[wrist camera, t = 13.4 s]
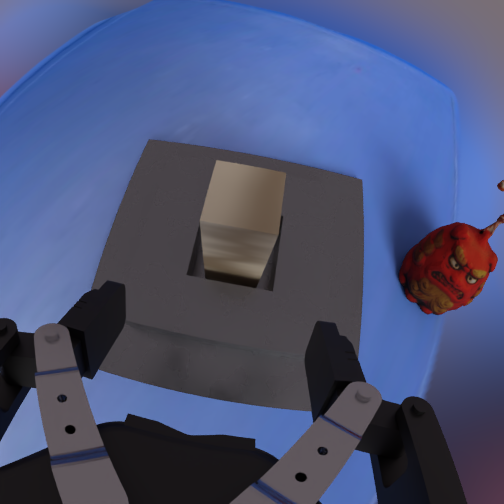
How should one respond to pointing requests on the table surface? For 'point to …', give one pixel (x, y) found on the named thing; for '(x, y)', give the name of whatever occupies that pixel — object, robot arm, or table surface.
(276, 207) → the maple block
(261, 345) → the socket plate
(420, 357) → the table surface
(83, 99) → the table surface
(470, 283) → the red clay folk toy
